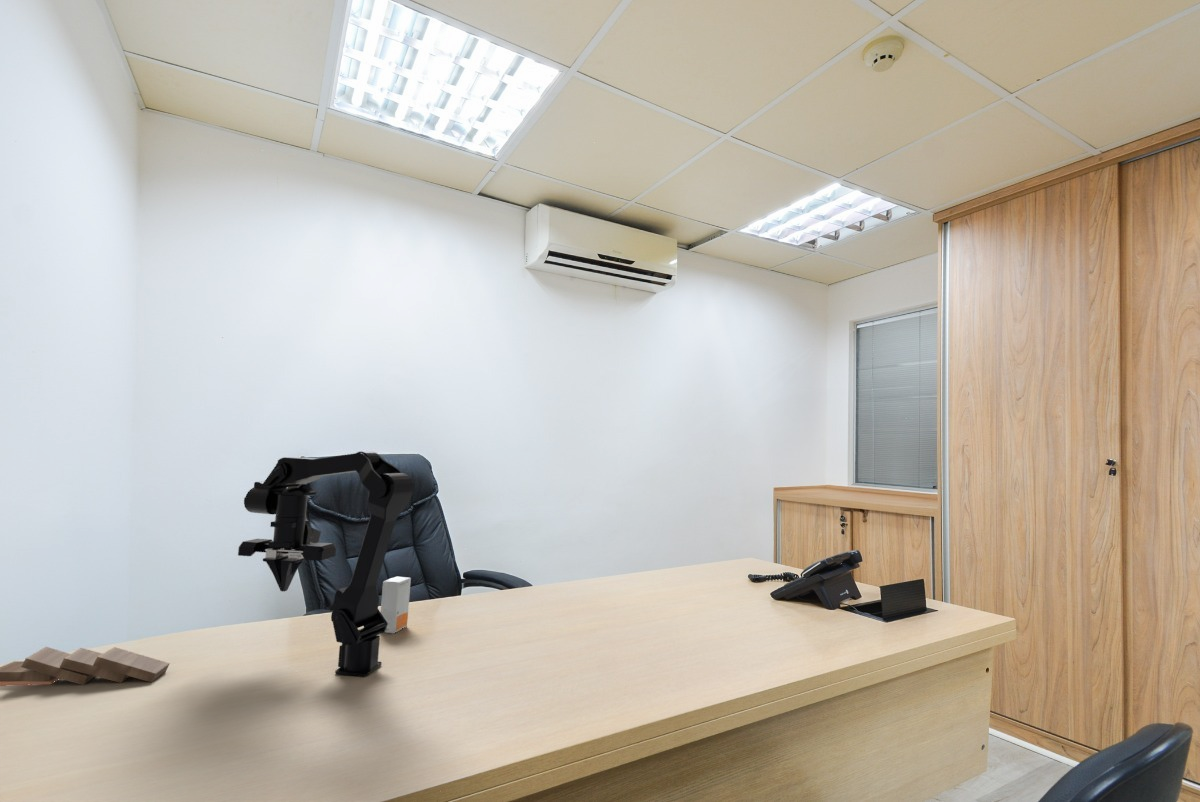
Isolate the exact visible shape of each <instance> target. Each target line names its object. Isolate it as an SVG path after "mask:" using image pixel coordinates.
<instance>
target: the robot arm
mask: <svg viewBox="0 0 1200 802" xmlns="http://www.w3.org/2000/svg"><path fill="white" fill-rule="evenodd" d="M349 473H357V474H358V476H359V479H360V482H361V485H363V486H364V487H365V488H366V489H367V490H368V497H367V503H368V508H369V512H370V517H369V521H368V524H367V527H366V531H365V534H364V537H363V540H362V544H361V547H360V550H359V554H358V557H357V560H356V564H355V567H354V569H353V571H354V572H353V575H352V576H351V581H350V583H349V584H348V585H347V587H342V588H340V589H339V588H338V589H337V590H336V592H335V593H334V600H333V603H332V605H331V606H330V607H329V610H330V611H331V616H330V617H331V618H330V619H331V622H332V625H333V630H334V635H335V639H336V640H335V641H336V642H337V643H340V646H339V651H338V660H337V662H338V663H337V664H338V665H337V666H338V668H336V670H335V672H334V673H335V674H336V675H347V676H359V677H367V676H368V675H370V674H371V673H373V672H374V671H375V670H377V669H378V668H380V667H381V666H382V665H383V664H382V661H379V653H380V652H379V651H380V650H379V649H380V637H381V636H380V635H381V634H383V633H385V630H386V628H387V625H388V623H387V621H386V620H385V618H384V617H383V615H382V614H381V610H380V609H379V601H380V596H379V592H378V588H377V586H378V585H377V584H378V580H379V578H380V573H381V570H382V567H383V566H384V565H383V564H384V561H385V557H386V554H387V551H388V549H389V544H390V540H391V537H392V534H393V531H394V527H395V523H396V522H397V519H398V517H399V516H400V515H401V514H402V513H403V511H404V510H405V509H406V508H407V506H408V504H409V503H410V500H411V498H412V496H413V494H414V492H415V483H414V481H413V480H412V478H411V476H410V475H408V474H407V473H403V472H402V471H401V470H400V468H398V467H397V466H395V465H393V464H392V463H390V462H388V461H386V460H385V459H384V458H383V457H382V456H381V455H380V454H378V453H377V452H375V451H357V452H355V453H349V454H348V453H347V454H341V455H334V456H326V457H319V458H317V457H315V458H314V457H290V456H289V457H281V458H279V459H278V460H277V463H276V464H275V466H274V467H273V469H272V470H271V472H269V474H268V476H267V477H266V479H265V480H264V481H255V482H254V483H253V487H252V488H250V489H249V490H248V491H247V493H246V495H245V497H243V498H244V499H243V504H244V508H245V509H246V511H247V512H249V513H253V514H264V515H275V518H274V521H270V528H274V529H273V530H274V532H273V539H267V538H253V539H249V540H244V541H243V540H242V542H241V544H239V546H238V549H237V550H238V551H237V556H238V557H252V556H253V555H255V553H265V557H264V558H262V561H263V562H265V563H266V564H267V566H268V567H269V569H270V571H271V573H272V574H273V577H274V579H275V581H276V583H277V586H278V588H279V590H280V592H287V591H288V590H289V589H290V588H289V587H290V586H291V583H292V581H293V579H294V577H295V575H296V573H297V571H298V569H299V567H300V566H301V564H302V563H304V561H312V562H313V561H315V562H316V561H325V560H327V559H330V558H334V557H336V555H337V548H336V545H335V544H334V543H333V542H332V543H331V542H319V541H320V537H321V535H322V531H321V530H317V529H315V528H313V527H310V524H311V523H310V520H309V519H307V507H308V497H311V496H316V495H317V492H316V491H315V489H313V488H312V487H311V485H310V484H309V483H312V482H316V481H318V480H319V479H321V478H323V477H326V476H335V475H340V474H349ZM359 628H360V629H359Z"/></svg>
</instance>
